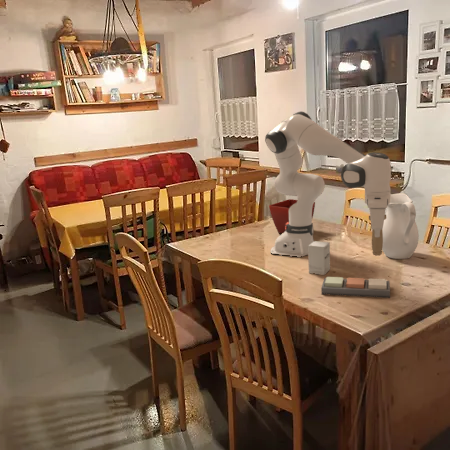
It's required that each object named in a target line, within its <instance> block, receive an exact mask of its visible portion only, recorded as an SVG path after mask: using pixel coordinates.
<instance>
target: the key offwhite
mask: <svg viewBox="0 0 450 450" xmlns="http://www.w3.org/2000/svg"><path fill="white" fill-rule="evenodd" d="M368 280H369V284H368V289H387V284H386V281H387V278H368Z"/></svg>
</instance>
